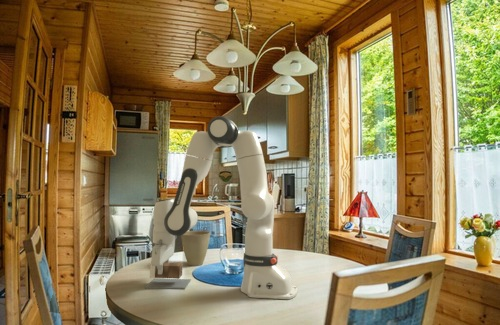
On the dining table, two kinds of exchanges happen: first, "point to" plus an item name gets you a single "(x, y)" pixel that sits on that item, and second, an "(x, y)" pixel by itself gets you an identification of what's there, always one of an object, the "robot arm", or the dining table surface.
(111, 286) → the dining table surface
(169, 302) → the dining table surface
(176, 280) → the grey mat
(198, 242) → the plant pot
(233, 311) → the dining table surface
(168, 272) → the walnut block
